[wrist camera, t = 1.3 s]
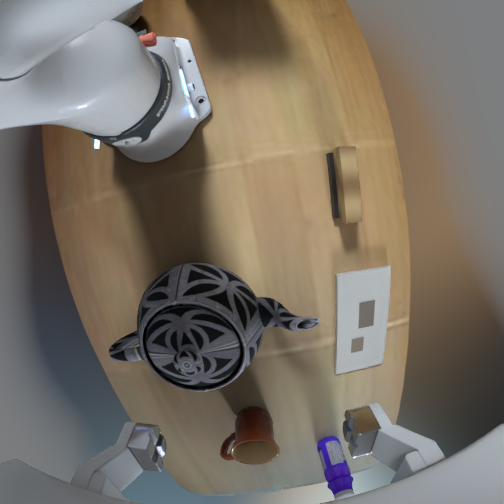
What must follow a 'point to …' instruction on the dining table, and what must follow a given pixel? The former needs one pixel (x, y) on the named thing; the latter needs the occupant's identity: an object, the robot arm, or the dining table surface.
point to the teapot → (202, 326)
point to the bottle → (335, 467)
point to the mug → (251, 438)
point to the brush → (344, 184)
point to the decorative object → (130, 15)
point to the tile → (361, 318)
